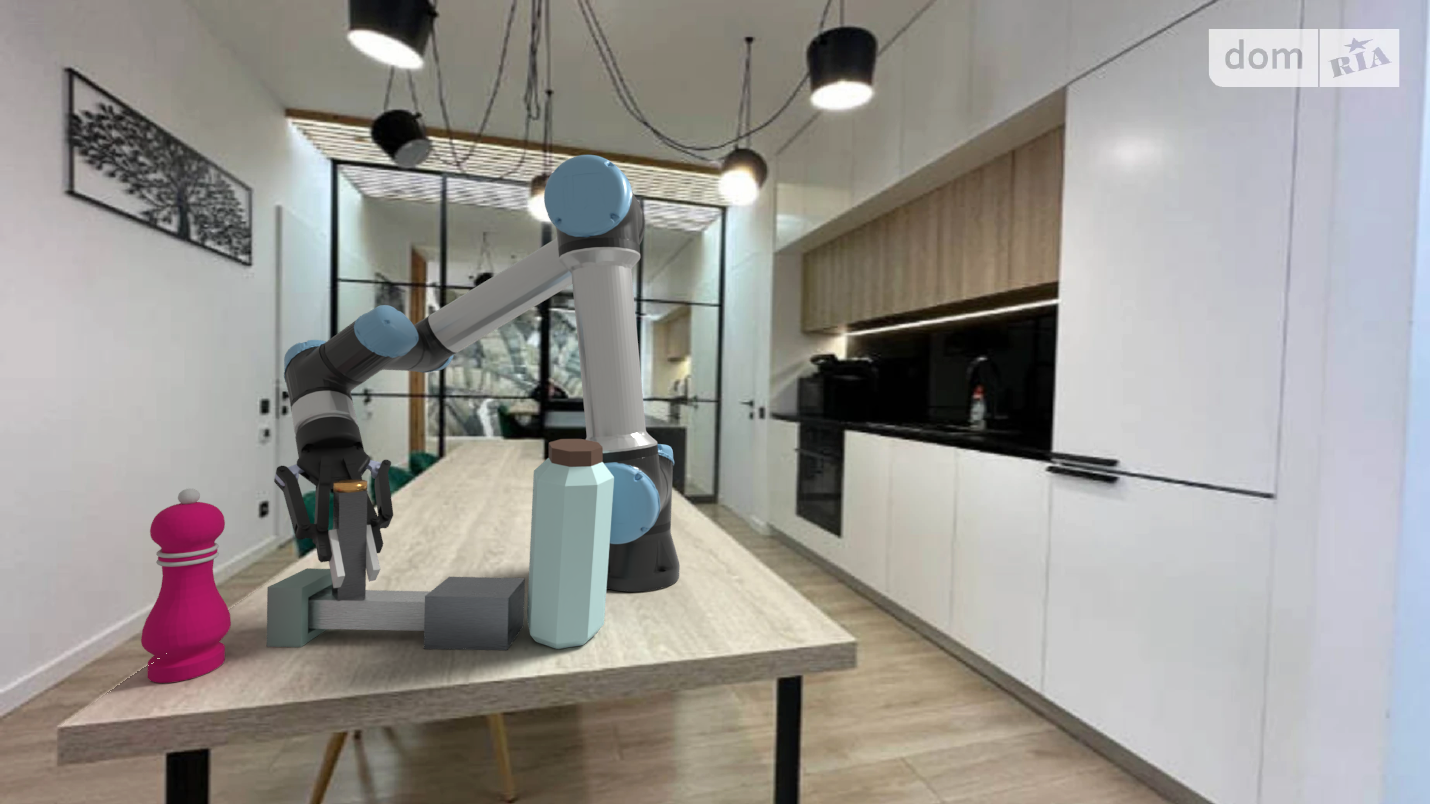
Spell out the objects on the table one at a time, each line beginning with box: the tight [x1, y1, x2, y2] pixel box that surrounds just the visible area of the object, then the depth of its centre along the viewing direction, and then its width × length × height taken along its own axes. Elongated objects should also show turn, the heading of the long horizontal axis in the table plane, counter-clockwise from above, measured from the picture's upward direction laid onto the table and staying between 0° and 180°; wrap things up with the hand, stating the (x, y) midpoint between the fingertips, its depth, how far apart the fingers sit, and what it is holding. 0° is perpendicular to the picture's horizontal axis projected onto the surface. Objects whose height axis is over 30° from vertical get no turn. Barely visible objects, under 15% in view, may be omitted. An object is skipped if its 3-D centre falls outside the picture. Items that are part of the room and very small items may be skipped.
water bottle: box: [526, 438, 614, 650], centre depth 72 cm, size 10×10×25 cm
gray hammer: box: [308, 479, 432, 632], centre depth 72 cm, size 18×4×18 cm, turn 92°
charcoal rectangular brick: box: [423, 576, 526, 651], centre depth 73 cm, size 10×7×6 cm
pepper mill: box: [140, 488, 232, 684], centre depth 62 cm, size 7×7×20 cm
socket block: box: [266, 567, 332, 648], centre depth 72 cm, size 4×7×7 cm, turn 3°
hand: (357, 578), depth 69 cm, fingers closed on gray hammer, 3 cm apart
